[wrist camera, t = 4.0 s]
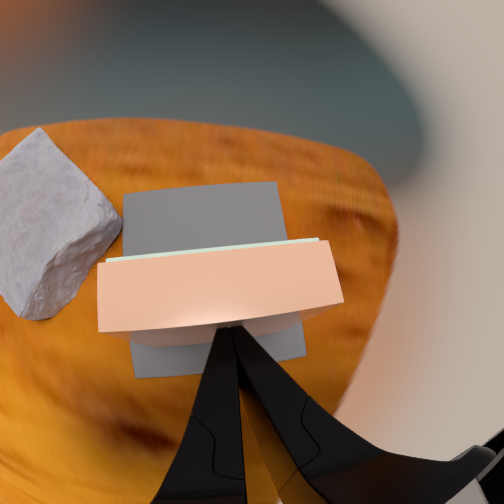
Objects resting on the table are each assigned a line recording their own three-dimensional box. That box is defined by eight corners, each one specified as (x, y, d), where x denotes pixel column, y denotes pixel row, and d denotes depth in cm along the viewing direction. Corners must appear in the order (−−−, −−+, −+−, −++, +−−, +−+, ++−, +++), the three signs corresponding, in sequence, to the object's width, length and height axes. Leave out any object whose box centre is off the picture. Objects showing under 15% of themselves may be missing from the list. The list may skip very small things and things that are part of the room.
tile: (279, 332, 15) (343, 302, 8) (154, 347, 14) (98, 332, 6) (272, 295, 16) (326, 234, 8) (151, 308, 14) (98, 256, 7)
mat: (305, 355, 15) (306, 355, 15) (136, 377, 13) (135, 378, 13) (274, 183, 18) (276, 181, 18) (124, 196, 16) (123, 194, 16)
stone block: (63, 335, 15) (141, 218, 16) (18, 344, 10) (105, 193, 11) (-3, 234, 16) (56, 139, 17) (-40, 224, 11) (25, 112, 12)
